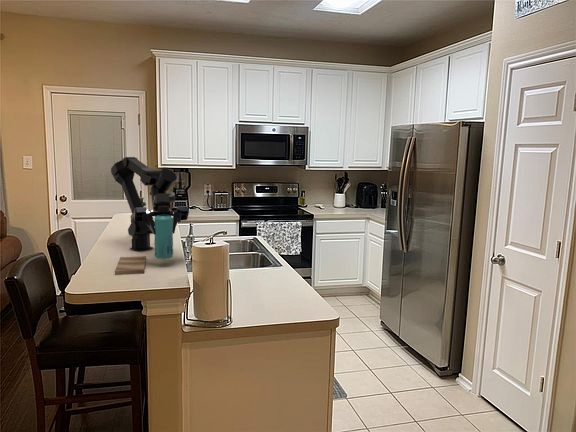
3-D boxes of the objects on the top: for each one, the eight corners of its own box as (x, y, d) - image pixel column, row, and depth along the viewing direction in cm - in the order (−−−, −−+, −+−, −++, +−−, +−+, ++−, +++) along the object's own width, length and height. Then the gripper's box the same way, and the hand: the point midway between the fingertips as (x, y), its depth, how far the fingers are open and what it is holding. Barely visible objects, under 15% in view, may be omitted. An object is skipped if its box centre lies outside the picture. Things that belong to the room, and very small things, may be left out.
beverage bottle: (168, 264, 147) (168, 207, 144) (150, 262, 149) (150, 206, 145) (176, 259, 154) (176, 205, 150) (159, 257, 155) (159, 203, 152)
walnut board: (120, 260, 156) (120, 257, 155) (146, 259, 158) (146, 256, 158) (114, 274, 139) (114, 271, 138) (143, 273, 141) (143, 269, 141)
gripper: (133, 184, 147) (137, 221, 139) (187, 184, 154) (194, 219, 146) (132, 203, 155) (135, 239, 147) (184, 202, 163) (189, 236, 155)
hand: (164, 233), depth 149 cm, fingers closed on beverage bottle, 6 cm apart
